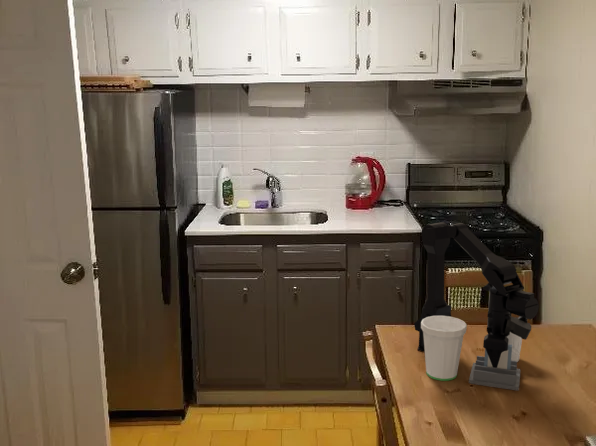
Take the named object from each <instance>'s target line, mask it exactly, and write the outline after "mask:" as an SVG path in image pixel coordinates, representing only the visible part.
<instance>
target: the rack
mask: <svg viewBox="0 0 596 446" xmlns="http://www.w3.org/2000/svg"><path fill="white" fill-rule="evenodd" d="M484 358H485V356H480V355H476V359H475V362H473V363H472V366H471V370H470V374H469V378H468V384H471V385H477V386H478V385H479V386H484V387H492V388H499V389H506V390H513V391H517V392H518V391H520V381H521V379H520V378H521V369H520V368H518V362H517V361H512V360H511V370H508V369H501V368H494V367H487V366H484Z"/></svg>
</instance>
